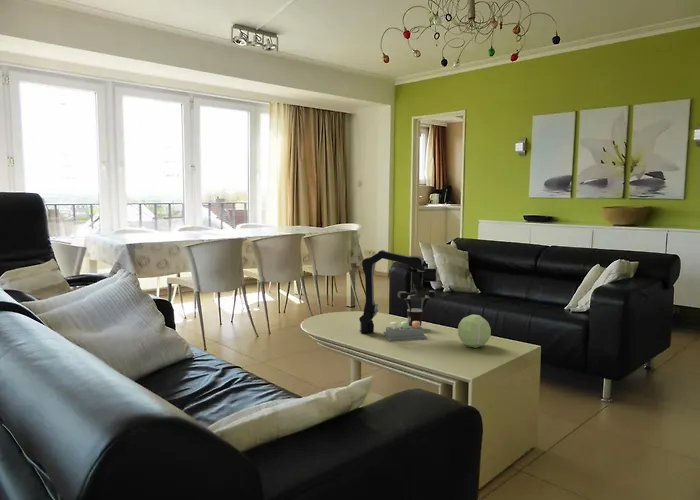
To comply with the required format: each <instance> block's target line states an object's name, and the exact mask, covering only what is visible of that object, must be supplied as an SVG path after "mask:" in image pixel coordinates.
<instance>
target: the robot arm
mask: <svg viewBox="0 0 700 500" xmlns="http://www.w3.org/2000/svg"><path fill="white" fill-rule="evenodd" d="M382 259H384V260H388V261H392V262H397V263H402V264H404V265H407V266H408V267H409V269H407V270H406V271H407V273H410V283H409V284H410V292H407V291H405V290H403V291H398V292H397V298H399V299H400V300H401V299H403V300H404V301H405V302H406V304H407V306H408V309H409V310H410V312H411V309H412V298H411V297H415V298H417V299H421V304H420V306H421V307H420V309H421V311H423V312H424V308H425V306H426V303H427V301H429V300H431V298H436V296H437V294H436V292H435V291H433V290H430V288H429V287H424V283H423V280H424V282H429V283H430V282H431V283H432V282H433V283H434V282H435V283H437V282H438V277H439V276H438V271H437V270H438V268H437V267H435V268H434V267H432V268H428V267H427V266H426V264H425V263H424V259H423V258H422V256H420V255H405V254H400V253H396V252H391V251H386V250H384V249H382V250H380V251H378V252H376V253H375V254H374V255H371V256H369V257H366V258H364V259H363V260H362V262H361V267H362V271H363V273H364V279H365V281H364V282H365V283H364V284H365V285H364V286H365V288H364V289H365V303H364V308H363V313H362V315H361V316H360V317H359V318H358V319H359V320H358V321H359V332H360V334H364V335H365V334H374V332H375V324H374V321H373V319H374V317H376V315H377V313H378V312H379V309H378V306H379V304H378V303H376V302H375V293H374V292H375V291H374V290H375V289H374V288H375V287H374V285H375V284H374V273H375V269H376V264H377V262H379V261H380V260H382Z"/></svg>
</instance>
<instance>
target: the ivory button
mask: <svg viewBox="0 0 700 500" xmlns="http://www.w3.org/2000/svg"><path fill="white" fill-rule="evenodd" d="M389 327H390V330H397V327H398V322H397V321H390V322H389Z"/></svg>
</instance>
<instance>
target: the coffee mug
mask: <svg viewBox="0 0 700 500" xmlns="http://www.w3.org/2000/svg"><path fill="white" fill-rule="evenodd" d="M423 313H424V310H423V311H421V308H411V312H410V310H409V308H408V309H407V311H406V314H407V322H409V326H412V322H413V321H420V326H421V327H422V321H423V315H424V314H423Z"/></svg>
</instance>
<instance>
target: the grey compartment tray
mask: <svg viewBox="0 0 700 500" xmlns="http://www.w3.org/2000/svg"><path fill="white" fill-rule="evenodd" d="M383 335H384V336H385V337H386V339H388V341H389V342H394V341H396V342H397V341H413V340H414V341H415V340H427V339H428V337H427V336H426V335H425V328H424V327H423V326H422V325H421V326H420V329H413V328H412V326H409V329H401V326H397V330H390V326H387V327H386V326H385V331H383Z"/></svg>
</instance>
